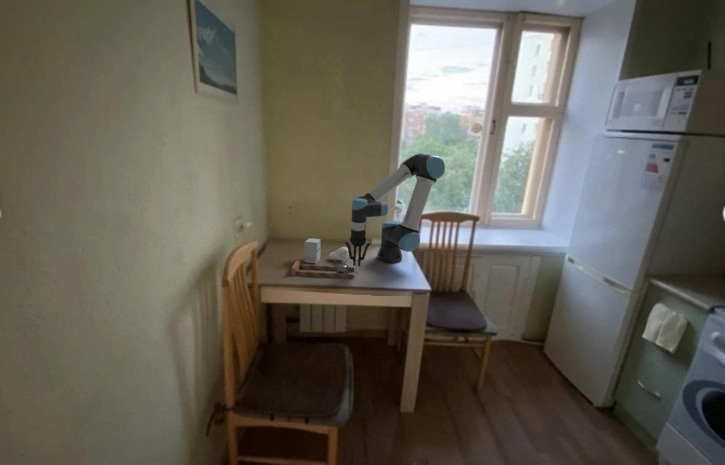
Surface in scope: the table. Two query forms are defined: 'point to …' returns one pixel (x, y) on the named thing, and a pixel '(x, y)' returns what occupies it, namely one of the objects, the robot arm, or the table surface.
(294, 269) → the stop block
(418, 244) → the robot arm
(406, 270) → the table surface
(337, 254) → the white figurine
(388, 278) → the table surface
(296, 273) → the guide rails
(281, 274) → the table surface
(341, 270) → the cylinder
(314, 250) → the supplement box
